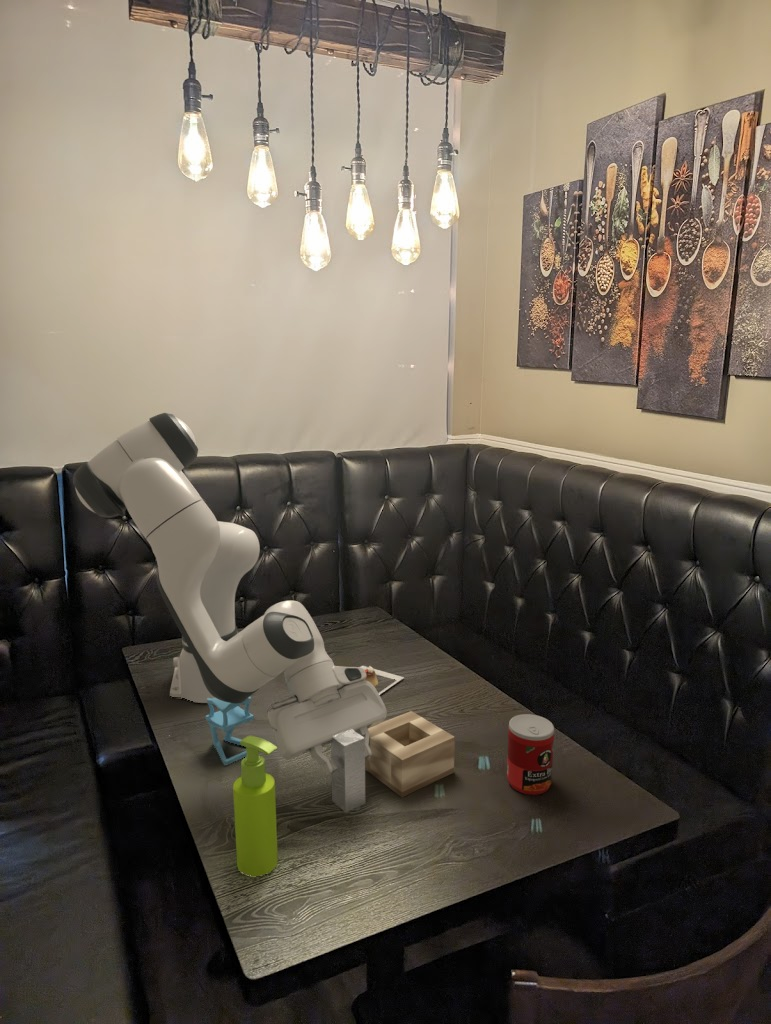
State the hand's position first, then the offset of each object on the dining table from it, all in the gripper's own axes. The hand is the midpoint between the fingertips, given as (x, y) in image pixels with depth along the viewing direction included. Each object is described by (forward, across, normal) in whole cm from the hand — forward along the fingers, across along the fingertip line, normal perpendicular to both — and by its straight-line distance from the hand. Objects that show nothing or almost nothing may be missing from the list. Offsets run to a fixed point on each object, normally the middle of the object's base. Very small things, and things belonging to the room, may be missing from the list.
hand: (350, 764), depth 115 cm
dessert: (-19, +29, +30) cm, 46 cm away
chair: (-14, -8, +25) cm, 30 cm away
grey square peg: (+5, 0, +6) cm, 7 cm away
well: (+4, +14, +7) cm, 16 cm away
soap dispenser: (+8, -19, +3) cm, 20 cm away
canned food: (+15, +28, -5) cm, 32 cm away
